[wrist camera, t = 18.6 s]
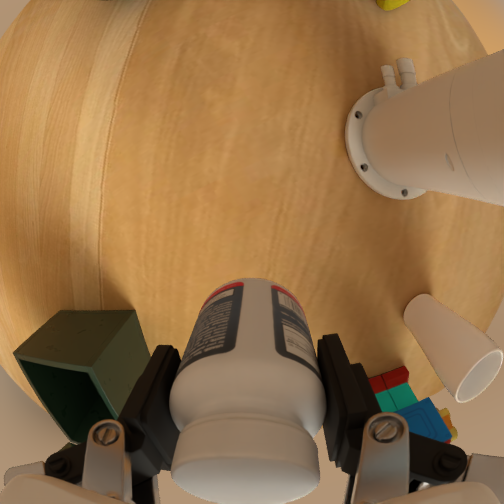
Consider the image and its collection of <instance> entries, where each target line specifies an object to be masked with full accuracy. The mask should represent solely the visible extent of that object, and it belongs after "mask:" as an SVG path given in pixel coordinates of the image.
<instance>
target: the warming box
mask: <svg viewBox="0 0 504 504" xmlns="http://www.w3.org/2000/svg"><path fill="white" fill-rule="evenodd" d="M13 354H14V356H15V358H16V360H17V362H18V364H19V366H20V368H21V370H22V371H23V373H24V375H25V377H26V378H27V380H28V382H29V384H30V385H31V387H32V388H33V390H34V392H35V393H36V395H37V396H38V398H39V400H40V401H41V403H42V404H43V406H44V407H45V408H46V410H47V411H48V413H49V414H50V415H51V417H52V418H53V420H54V421H55V422H56V424H57V425H58V426H59V428H60V429H61V430H62V432H63V433H64V434H65V435H66V437H67V438H68V439H69V440H70V442H73V443H76V444H80V443H83V442H85V441H87V440H88V434H89V431H90V429H91V428H92V426H93V425H95V424H96V423H97V422H99V421H102V420H106V419H112V420H116V421H117V419H118V417H119V415H120V413H121V411H122V409H123V407H124V405H125V403H126V401H127V399H128V397H129V395H130V393H131V391H132V389H133V387H134V385H135V383H136V382H137V380H138V378H139V377H140V376H141V375H142V374H143V372H144V370H145V368H146V366H147V364H148V362H149V360H150V358H151V356H150V354H149V351H148V348H147V345H146V342H145V339H144V336H143V333H142V330H141V327H140V324H139V321H138V318H137V314H136V311H135V310H111V311H63V310H60V311H59V312H58V313H56V314H55V315H54V316H53V317H52V318H51V319H49V320H48V321H47V322H46V323H45V324H44V325H43V326H41V327H40V328H39V329H38V330H37V331H36V332H35V333H33V334H32V335H31V336H30V337H29V338H28V339H27V340H26V341H25V342H24V343H22V344H21V345H20V346H19V347H18V348H17V349H16V350H15V351H14V352H13Z"/></svg>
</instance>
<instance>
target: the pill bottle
mask: <svg viewBox="0 0 504 504" xmlns="http://www.w3.org/2000/svg"><path fill="white" fill-rule="evenodd" d="M169 408H170V413H171V416H172V419H173V421H174V423H175V425H176V426H177V428H178V429H179V431H180V432H181V433H180V434H179V439H178V441H177V444H176V449H175V453H174V457H173V462H172V466H171V476H172V479H173V480H174V482H175V483H176V484H177V485H178V486H179V487H181V488H182V489H183V490H185V491H186V492H188V493H190V494H192V495H194V496H196V497H199V498H202V499H205V500H207V501H211V502H215V503H220V504H283V503H287V502H291V501H294V500H296V499H299V498H302V497H303V496H306V495H307V494H309V493H311V492H312V491H313V490H314V489H315V488H316V487H317V486H318V484H319V480H320V470H319V461H318V448H317V445H316V443H315V442H314V440H313V437H314V436H315V435H316V434H317V432H318V431H319V430H320V428H321V426H322V424H323V422H324V420H325V416H326V412H327V399H326V393H325V388H324V384H323V380H322V376H321V372H320V368H319V364H318V361H317V357H316V353H315V349H314V346H313V342H312V338H311V335H310V331H309V328H308V324H307V321H306V317H305V314H304V311H303V309H302V306H301V304H300V303H299V301H298V300H297V298H296V297H295V296H294V295H293V294H292V293H291V292H290V291H289V290H288V289H286V288H285V287H283V286H281V285H279V284H277V283H275V282H272V281H269V280H265V279H260V278H242V279H237V280H233V281H230V282H228V283H225V284H223V285H222V286H220V287H218V288H217V289H216V290H215V291H213V292H212V293H211V294H210V295H209V297H208V298H207V299H206V301H205V302H204V304H203V306H202V308H201V310H200V313H199V315H198V318H197V321H196V323H195V326H194V329H193V331H192V334H191V337H190V339H189V342H188V344H187V347H186V350H185V352H184V355H183V358H182V360H181V363H180V366H179V368H178V371H177V374H176V376H175V379H174V382H173V385H172V389H171V392H170V398H169Z"/></svg>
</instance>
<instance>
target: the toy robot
mask: <svg viewBox="0 0 504 504" xmlns="http://www.w3.org/2000/svg"><path fill="white" fill-rule="evenodd" d="M408 378H409V371H408V370H407V368H406V367H405V366H403V367H400V368H398V369H395V370H392V371H390V372H387V373H384V374H381V375H379V376H376V377H373V378H370V379H368V380H369V382H370V384H371V386H372V389H373V391H374V393H375V396H376V398H377V400H378V403H379V405H380V408H381V410H382V412H394V413H396V414H399V415H401V416H402V417H403V418H405V420H406V421H407V423H408V427H409V431H410V432H413V433H416V434H419V435H422V436H425V437H428V438H431V439H434V440H438V441H441V442H444V443H448V444H450V442H452V441H453V440H455V439H457V430H456V428H455V427H454V426H452V423H451V420H450V413H449V411H448V409H447V408H444V409H442V410H440V411H439V410H438V409H437V408H435V406H434V404H433V403H432V401H431V400H430V398H429V397H428V398H425V399H423V400H421V401H419V402H418V400H417V398H416V396H415V395H414V393H413V391H412V390H411V388H410V386H409V385H408Z"/></svg>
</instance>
